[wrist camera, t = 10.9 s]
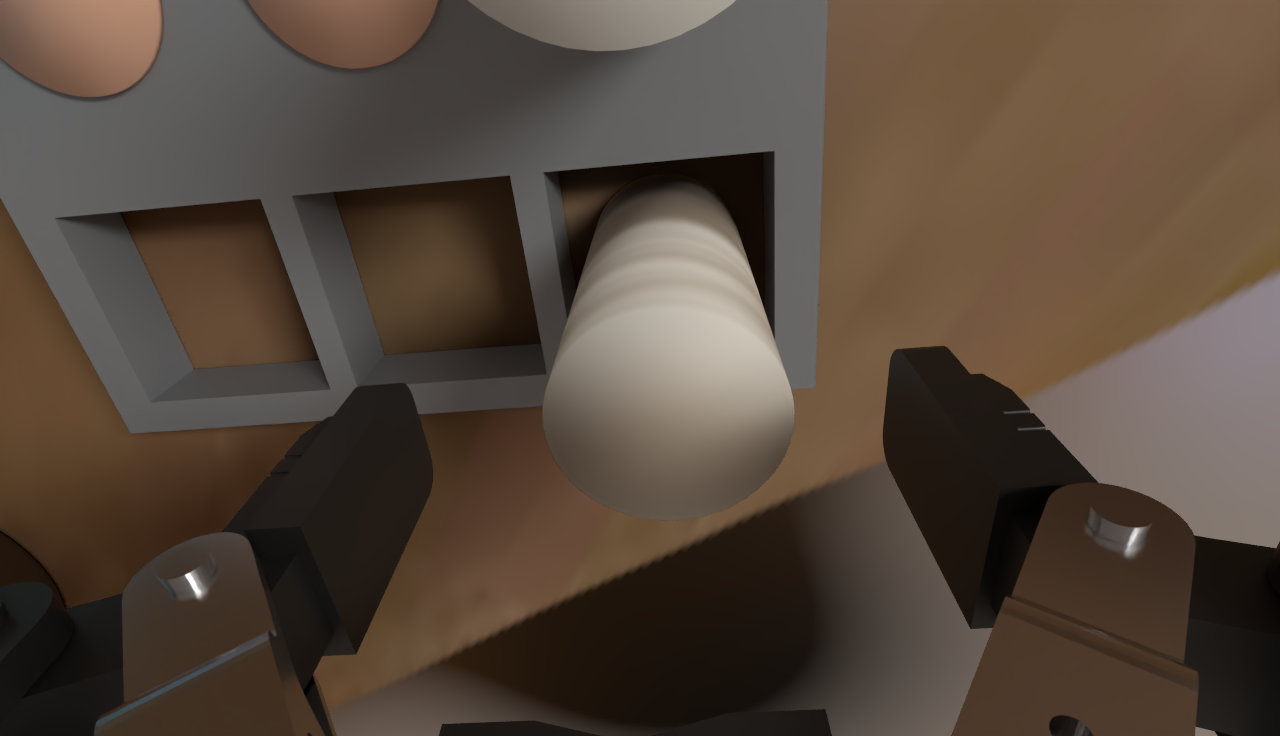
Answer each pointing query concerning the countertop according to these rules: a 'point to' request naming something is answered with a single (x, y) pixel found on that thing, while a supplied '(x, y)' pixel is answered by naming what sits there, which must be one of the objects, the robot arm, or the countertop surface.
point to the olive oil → (21, 566)
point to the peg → (667, 361)
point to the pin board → (382, 163)
